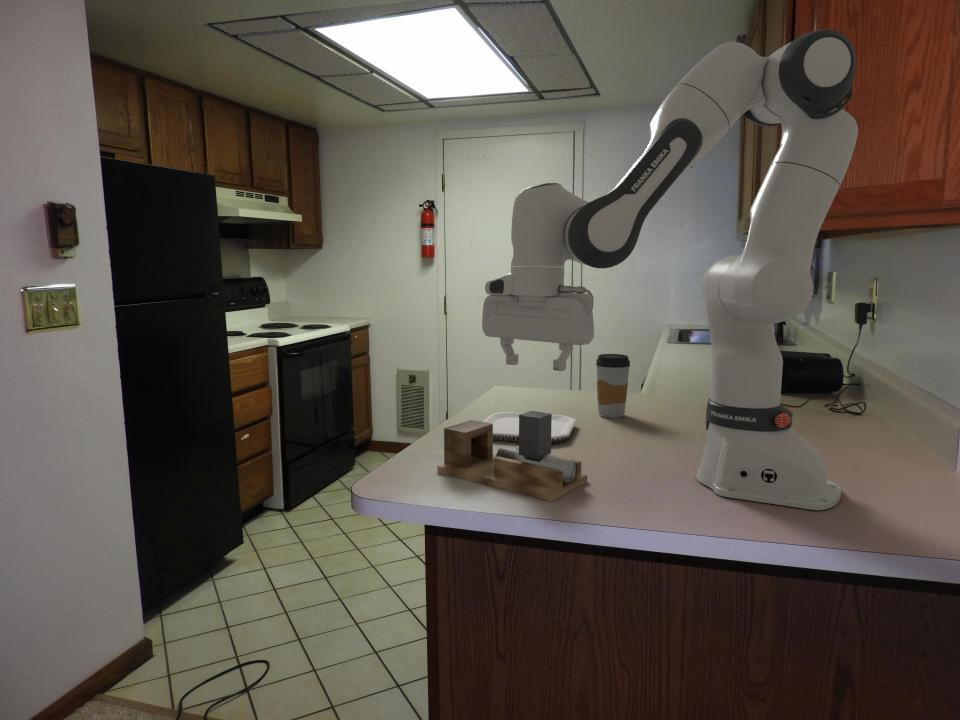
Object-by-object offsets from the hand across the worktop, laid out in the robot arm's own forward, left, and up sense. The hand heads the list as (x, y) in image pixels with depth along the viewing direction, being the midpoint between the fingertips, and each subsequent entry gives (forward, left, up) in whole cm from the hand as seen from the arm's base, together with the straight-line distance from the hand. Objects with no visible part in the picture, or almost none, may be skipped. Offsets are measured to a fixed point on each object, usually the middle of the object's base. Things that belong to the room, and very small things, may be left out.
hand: (535, 367), depth 109 cm
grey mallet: (0, 0, -19) cm, 19 cm away
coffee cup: (+12, -54, -20) cm, 59 cm away
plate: (+20, -28, -21) cm, 40 cm away
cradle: (+5, 0, -20) cm, 21 cm away
